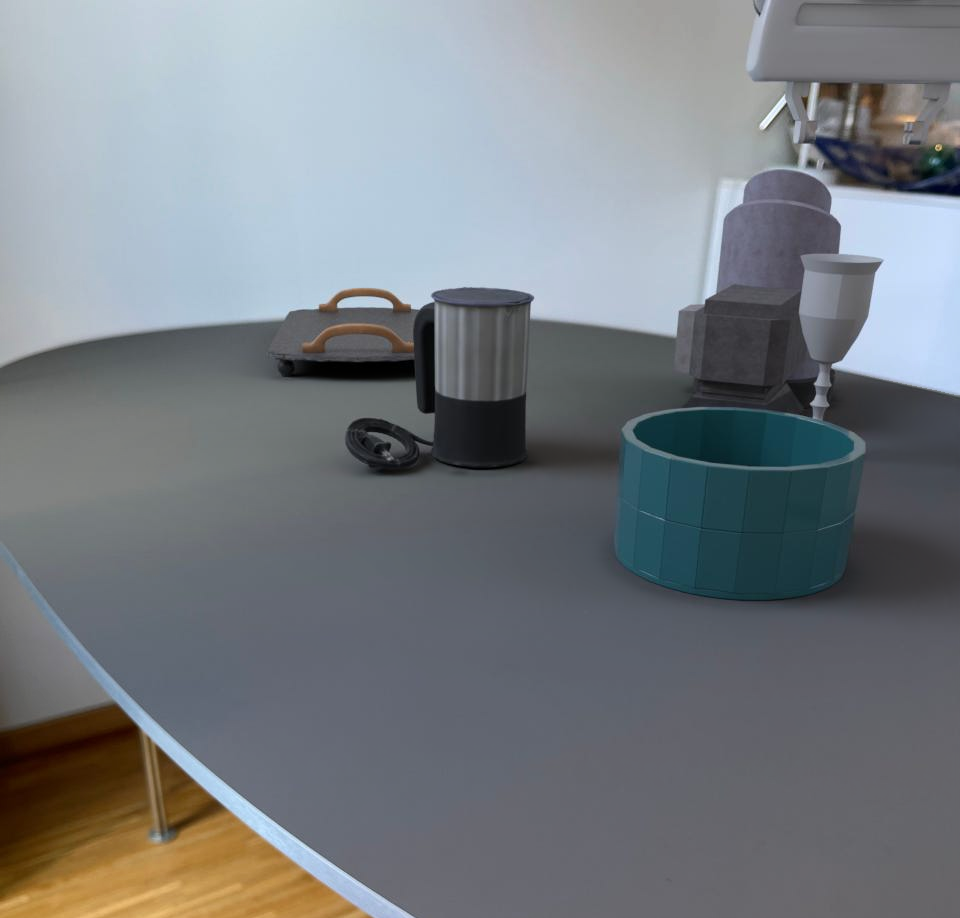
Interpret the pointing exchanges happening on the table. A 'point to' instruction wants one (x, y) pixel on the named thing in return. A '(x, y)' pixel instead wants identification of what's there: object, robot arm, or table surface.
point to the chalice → (834, 310)
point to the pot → (736, 501)
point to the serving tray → (346, 332)
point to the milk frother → (463, 382)
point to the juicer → (760, 300)
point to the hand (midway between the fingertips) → (858, 144)
